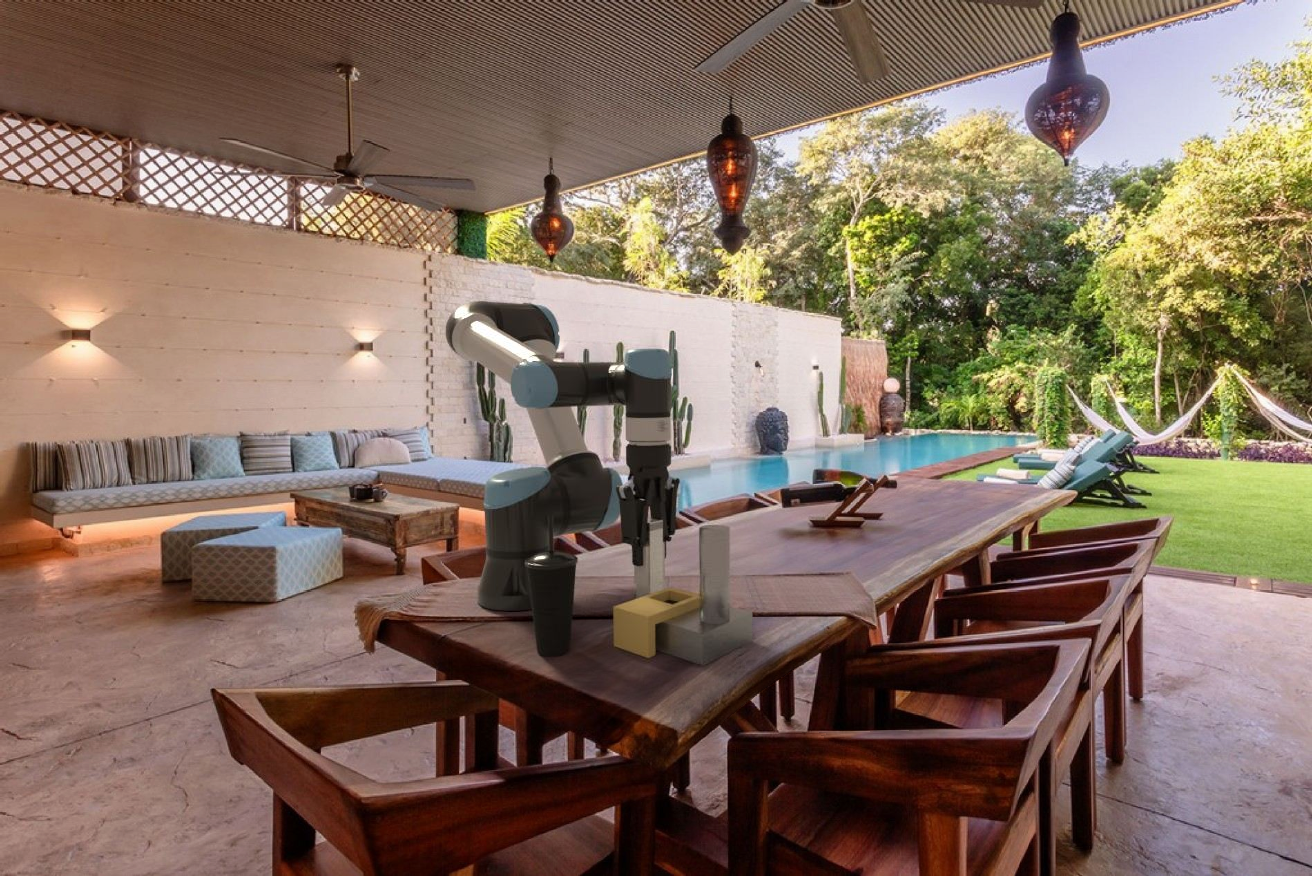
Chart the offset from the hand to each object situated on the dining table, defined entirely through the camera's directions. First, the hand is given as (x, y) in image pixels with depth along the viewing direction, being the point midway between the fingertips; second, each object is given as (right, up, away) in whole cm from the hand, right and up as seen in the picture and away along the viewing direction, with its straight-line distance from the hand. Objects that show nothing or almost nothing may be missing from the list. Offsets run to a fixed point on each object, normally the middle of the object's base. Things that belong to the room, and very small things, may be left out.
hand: (649, 581), depth 119 cm
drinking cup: (-14, -7, -15) cm, 22 cm away
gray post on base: (+6, -7, -11) cm, 14 cm away
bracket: (+2, -7, -11) cm, 13 cm away
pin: (0, -6, +1) cm, 6 cm away
